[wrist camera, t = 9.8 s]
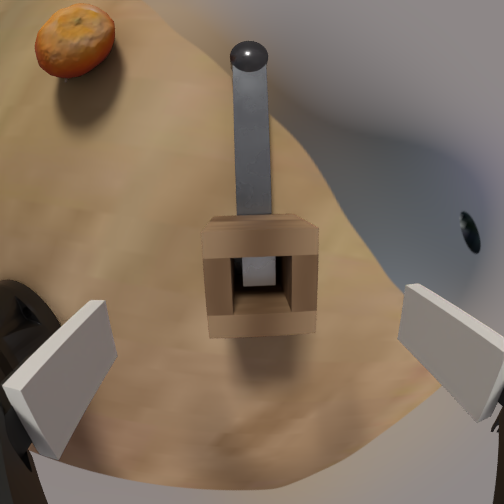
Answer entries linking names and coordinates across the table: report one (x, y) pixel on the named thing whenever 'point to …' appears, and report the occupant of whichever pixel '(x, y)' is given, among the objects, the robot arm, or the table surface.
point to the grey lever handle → (252, 151)
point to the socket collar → (260, 297)
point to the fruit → (74, 40)
